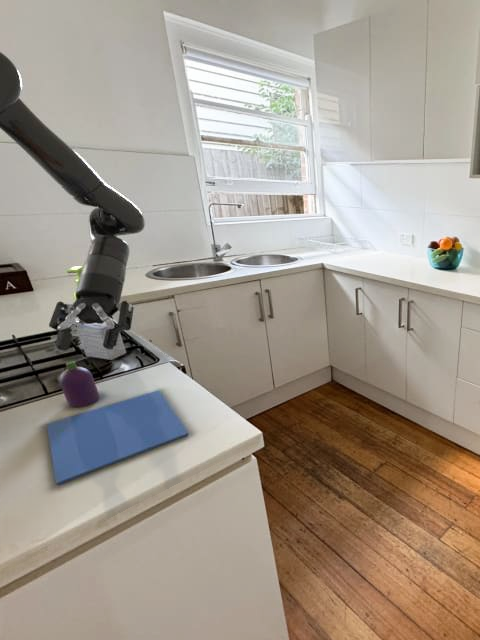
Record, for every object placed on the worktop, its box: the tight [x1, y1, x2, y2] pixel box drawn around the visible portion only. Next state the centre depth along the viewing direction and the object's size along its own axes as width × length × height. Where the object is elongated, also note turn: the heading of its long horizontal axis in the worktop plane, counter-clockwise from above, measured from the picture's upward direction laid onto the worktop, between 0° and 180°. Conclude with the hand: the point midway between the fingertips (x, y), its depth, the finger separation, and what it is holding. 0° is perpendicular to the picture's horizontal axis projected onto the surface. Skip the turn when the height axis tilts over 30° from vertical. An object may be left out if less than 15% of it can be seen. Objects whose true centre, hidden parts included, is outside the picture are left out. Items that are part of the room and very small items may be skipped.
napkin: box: [46, 390, 189, 486], centre depth 69 cm, size 20×18×1 cm
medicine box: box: [75, 322, 127, 361], centre depth 95 cm, size 8×4×9 cm, turn 77°
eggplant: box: [58, 360, 101, 408], centre depth 76 cm, size 5×5×9 cm
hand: (85, 348), depth 78 cm, fingers open, 8 cm apart
